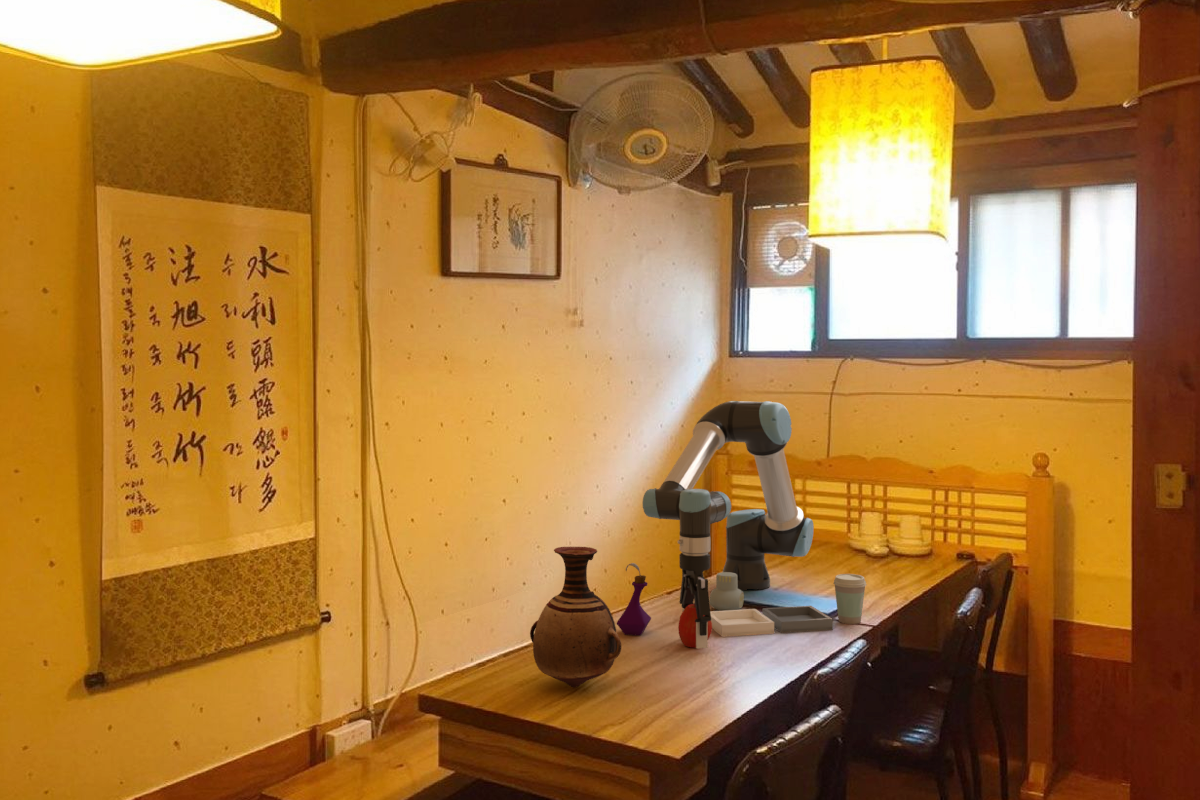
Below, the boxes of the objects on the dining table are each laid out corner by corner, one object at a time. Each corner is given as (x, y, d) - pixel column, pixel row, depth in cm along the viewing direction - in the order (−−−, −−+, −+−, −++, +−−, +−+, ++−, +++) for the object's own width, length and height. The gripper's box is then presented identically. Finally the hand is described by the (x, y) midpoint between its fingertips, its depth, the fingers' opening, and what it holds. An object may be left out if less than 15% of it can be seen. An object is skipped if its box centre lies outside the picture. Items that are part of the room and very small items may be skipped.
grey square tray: (762, 619, 277) (762, 608, 277) (810, 616, 280) (811, 605, 280) (781, 633, 264) (781, 621, 263) (832, 629, 266) (832, 618, 266)
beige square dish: (705, 622, 274) (705, 611, 274) (755, 619, 277) (755, 608, 277) (722, 636, 260) (722, 625, 260) (774, 633, 263) (774, 622, 263)
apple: (716, 643, 254) (717, 601, 254) (702, 652, 247) (703, 608, 247) (686, 639, 258) (687, 597, 258) (672, 647, 251) (672, 604, 251)
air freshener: (737, 615, 281) (737, 579, 281) (708, 613, 284) (708, 577, 284) (745, 606, 292) (745, 571, 291) (716, 603, 294) (716, 569, 294)
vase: (511, 684, 224) (510, 548, 222) (572, 666, 236) (572, 537, 235) (579, 708, 209) (578, 562, 207) (640, 687, 221) (640, 549, 220)
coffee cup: (866, 626, 270) (867, 581, 269) (833, 624, 271) (833, 579, 271) (865, 617, 278) (865, 574, 278) (832, 616, 280) (833, 572, 279)
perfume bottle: (651, 630, 267) (651, 561, 266) (645, 638, 259) (644, 567, 259) (623, 628, 269) (623, 560, 268) (616, 635, 261) (616, 565, 261)
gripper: (667, 544, 262) (667, 629, 263) (693, 563, 239) (693, 655, 240) (695, 543, 264) (695, 627, 265) (724, 561, 241) (724, 653, 242)
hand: (694, 641), depth 253 cm, fingers open, 11 cm apart
